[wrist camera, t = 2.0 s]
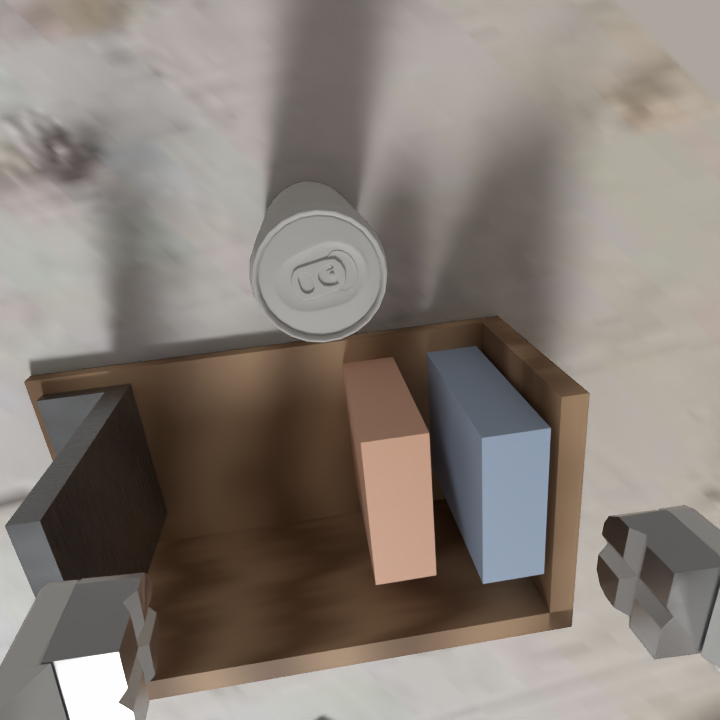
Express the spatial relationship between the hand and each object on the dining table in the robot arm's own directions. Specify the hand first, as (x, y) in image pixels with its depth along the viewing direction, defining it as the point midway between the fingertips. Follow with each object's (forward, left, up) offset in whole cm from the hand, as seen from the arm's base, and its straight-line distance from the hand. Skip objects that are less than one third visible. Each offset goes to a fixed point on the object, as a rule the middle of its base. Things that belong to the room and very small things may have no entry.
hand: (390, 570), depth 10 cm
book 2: (-7, +9, -22) cm, 24 cm away
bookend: (+14, +9, -22) cm, 27 cm away
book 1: (-2, +9, -22) cm, 24 cm away
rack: (+3, +10, -23) cm, 25 cm away
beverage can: (0, -3, -23) cm, 23 cm away
